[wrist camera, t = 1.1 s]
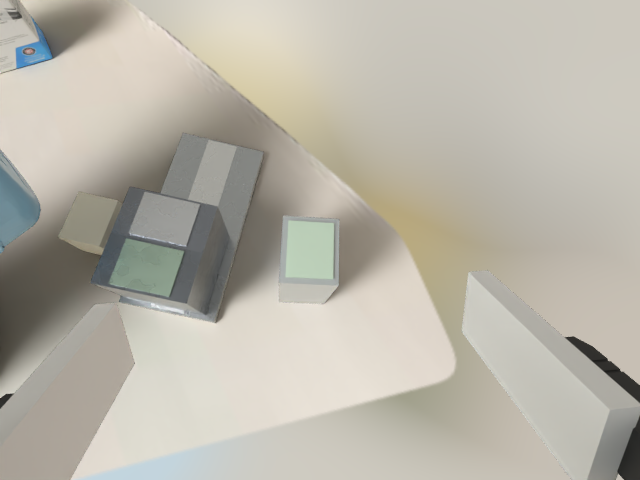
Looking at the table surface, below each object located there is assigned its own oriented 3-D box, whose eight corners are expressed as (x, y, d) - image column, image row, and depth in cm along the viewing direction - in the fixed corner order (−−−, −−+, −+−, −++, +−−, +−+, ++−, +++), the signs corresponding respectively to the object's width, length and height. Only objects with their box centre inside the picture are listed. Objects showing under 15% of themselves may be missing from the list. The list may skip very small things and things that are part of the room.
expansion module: (278, 302, 41) (279, 282, 30) (281, 250, 43) (282, 214, 32) (323, 304, 41) (339, 285, 31) (324, 252, 43) (339, 218, 32)
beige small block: (83, 251, 40) (57, 237, 36) (101, 210, 42) (78, 191, 37) (120, 259, 40) (99, 246, 36) (136, 218, 42) (118, 200, 37)
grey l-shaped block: (122, 303, 39) (73, 285, 30) (184, 137, 46) (161, 81, 36) (215, 323, 39) (196, 312, 30) (263, 156, 46) (260, 104, 37)
